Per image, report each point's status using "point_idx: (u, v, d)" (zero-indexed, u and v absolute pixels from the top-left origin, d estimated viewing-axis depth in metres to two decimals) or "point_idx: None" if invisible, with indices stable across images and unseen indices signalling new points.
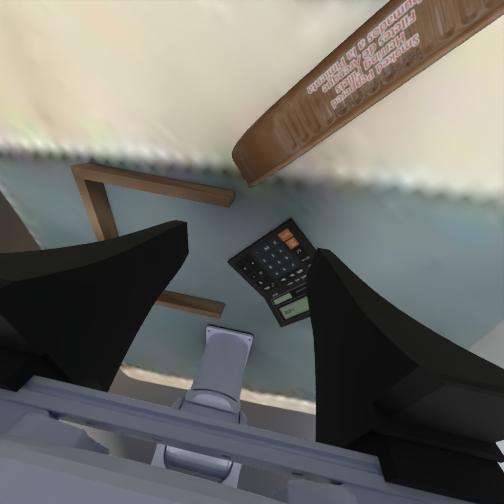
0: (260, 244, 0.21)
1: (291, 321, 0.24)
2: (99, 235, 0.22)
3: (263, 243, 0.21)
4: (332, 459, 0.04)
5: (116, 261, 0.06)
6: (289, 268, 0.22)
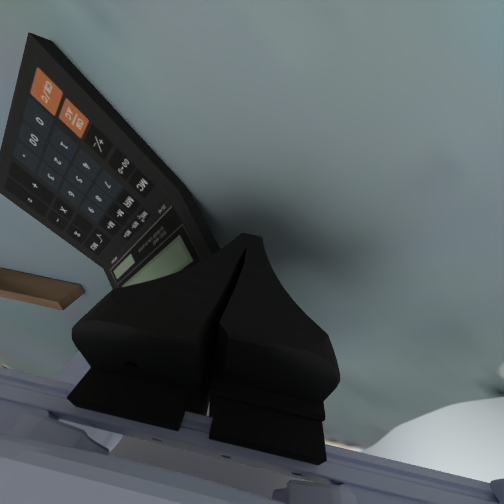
0: (15, 129, 0.09)
1: None
2: None
3: (20, 127, 0.09)
4: (332, 459, 0.04)
5: (228, 284, 0.06)
6: (106, 194, 0.10)
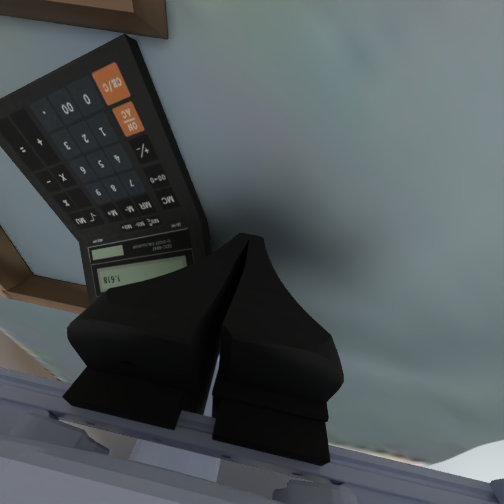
0: (50, 87, 0.08)
1: None
2: None
3: (57, 89, 0.08)
4: (332, 459, 0.04)
5: (226, 284, 0.06)
6: (124, 189, 0.10)
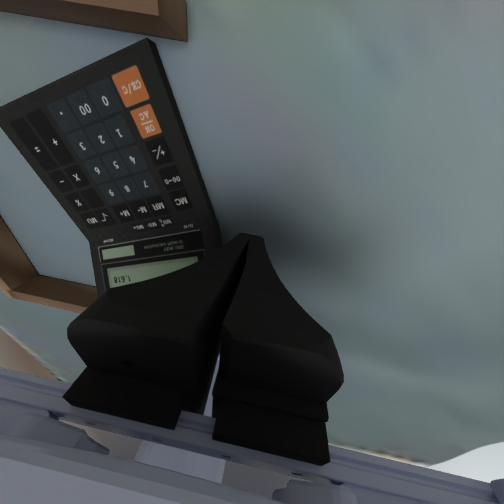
0: (68, 89, 0.08)
1: None
2: None
3: (76, 90, 0.08)
4: (332, 459, 0.04)
5: (226, 284, 0.06)
6: (138, 190, 0.10)
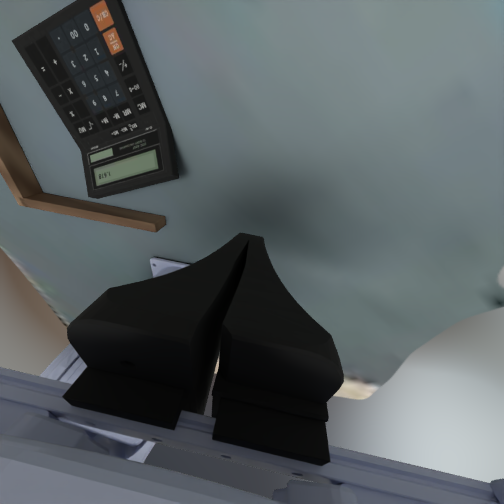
0: (63, 19, 0.13)
1: (102, 190, 0.17)
2: None
3: (68, 20, 0.13)
4: (332, 459, 0.04)
5: (226, 284, 0.06)
6: (112, 99, 0.15)
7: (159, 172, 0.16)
